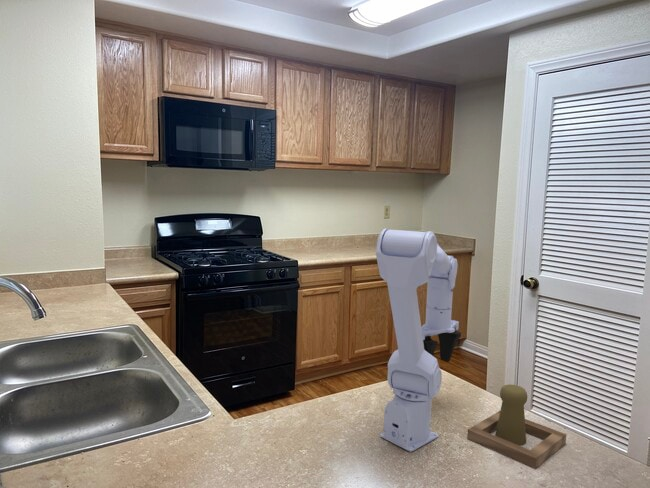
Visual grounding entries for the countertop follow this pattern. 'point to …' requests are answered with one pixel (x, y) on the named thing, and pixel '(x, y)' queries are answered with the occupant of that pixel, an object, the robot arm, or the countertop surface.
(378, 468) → the countertop surface
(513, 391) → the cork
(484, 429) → the socket block
